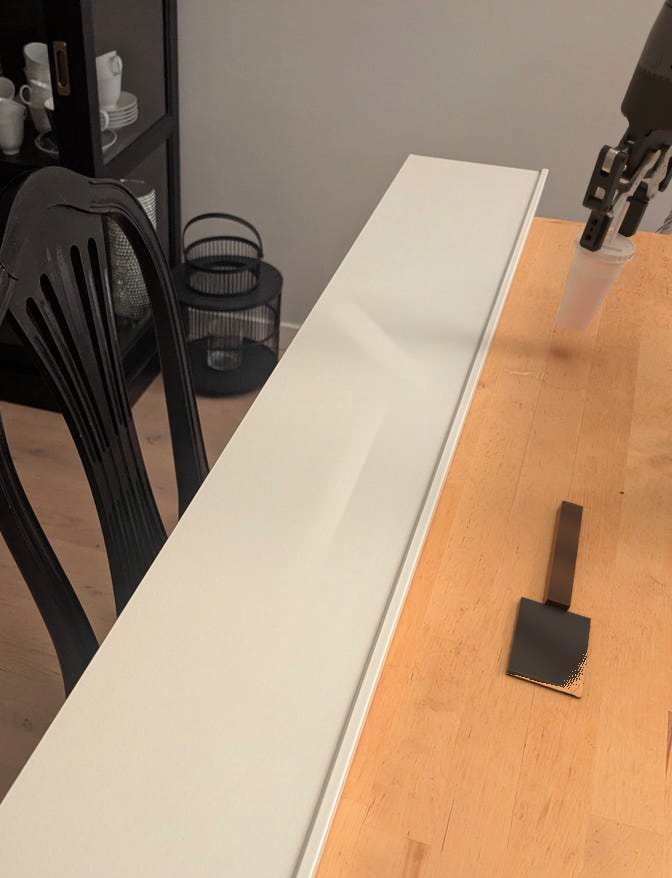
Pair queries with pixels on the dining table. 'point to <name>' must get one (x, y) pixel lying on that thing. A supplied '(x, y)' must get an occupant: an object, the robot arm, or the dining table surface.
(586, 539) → the dining table surface
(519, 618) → the spatula
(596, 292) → the smoothie
